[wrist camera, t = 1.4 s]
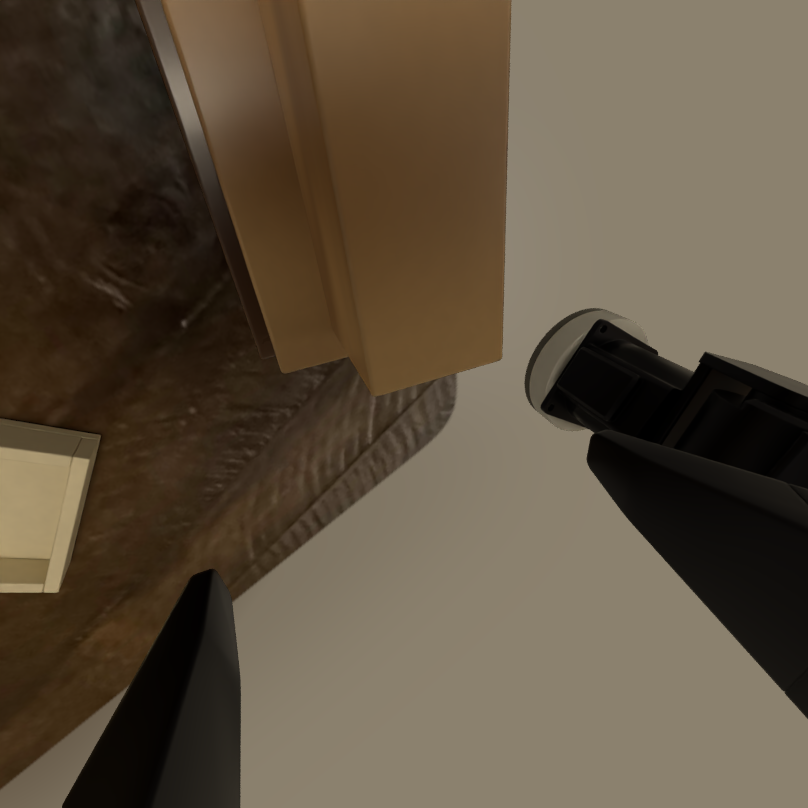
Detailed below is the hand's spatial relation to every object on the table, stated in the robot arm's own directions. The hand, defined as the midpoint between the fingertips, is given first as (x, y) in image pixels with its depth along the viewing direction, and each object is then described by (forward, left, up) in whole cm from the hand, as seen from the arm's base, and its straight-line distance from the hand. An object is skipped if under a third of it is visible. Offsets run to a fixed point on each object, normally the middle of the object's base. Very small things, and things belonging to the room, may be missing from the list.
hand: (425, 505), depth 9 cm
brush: (+4, -5, -3) cm, 7 cm away
